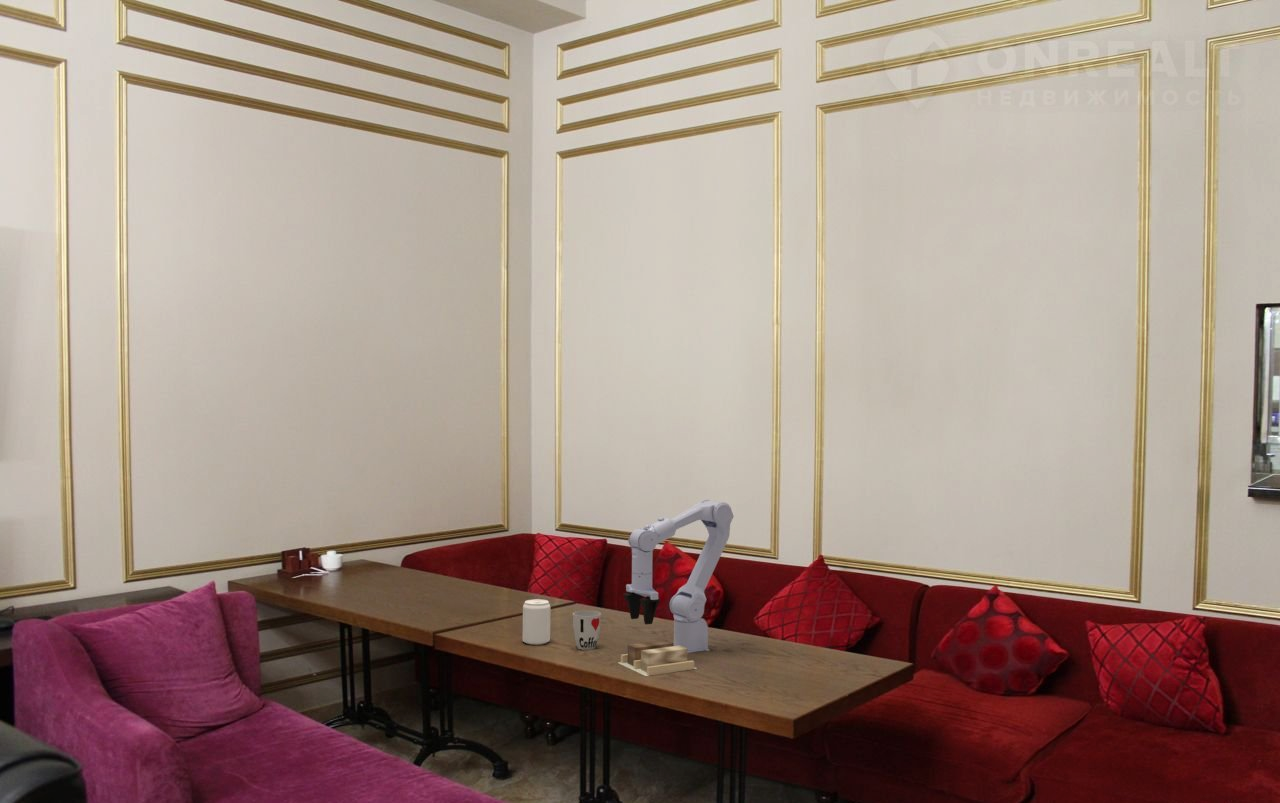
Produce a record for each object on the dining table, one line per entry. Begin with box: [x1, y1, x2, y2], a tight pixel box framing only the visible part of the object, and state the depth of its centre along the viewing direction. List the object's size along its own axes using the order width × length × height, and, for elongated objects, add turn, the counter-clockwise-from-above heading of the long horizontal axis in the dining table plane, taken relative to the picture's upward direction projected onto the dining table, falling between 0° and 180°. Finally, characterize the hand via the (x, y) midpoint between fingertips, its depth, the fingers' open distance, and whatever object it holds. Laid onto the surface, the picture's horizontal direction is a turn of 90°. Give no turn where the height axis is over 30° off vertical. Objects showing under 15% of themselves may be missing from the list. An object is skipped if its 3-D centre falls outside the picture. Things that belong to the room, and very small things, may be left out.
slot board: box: [617, 653, 698, 677], centre depth 262 cm, size 16×15×3 cm
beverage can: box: [522, 598, 551, 646], centre depth 289 cm, size 8×8×12 cm
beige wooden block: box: [641, 645, 689, 672], centre depth 259 cm, size 12×4×5 cm, turn 120°
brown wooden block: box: [627, 639, 674, 666], centre depth 265 cm, size 12×4×5 cm, turn 120°
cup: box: [572, 610, 602, 651], centre depth 283 cm, size 8×8×10 cm
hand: (641, 621), depth 273 cm, fingers open, 7 cm apart
